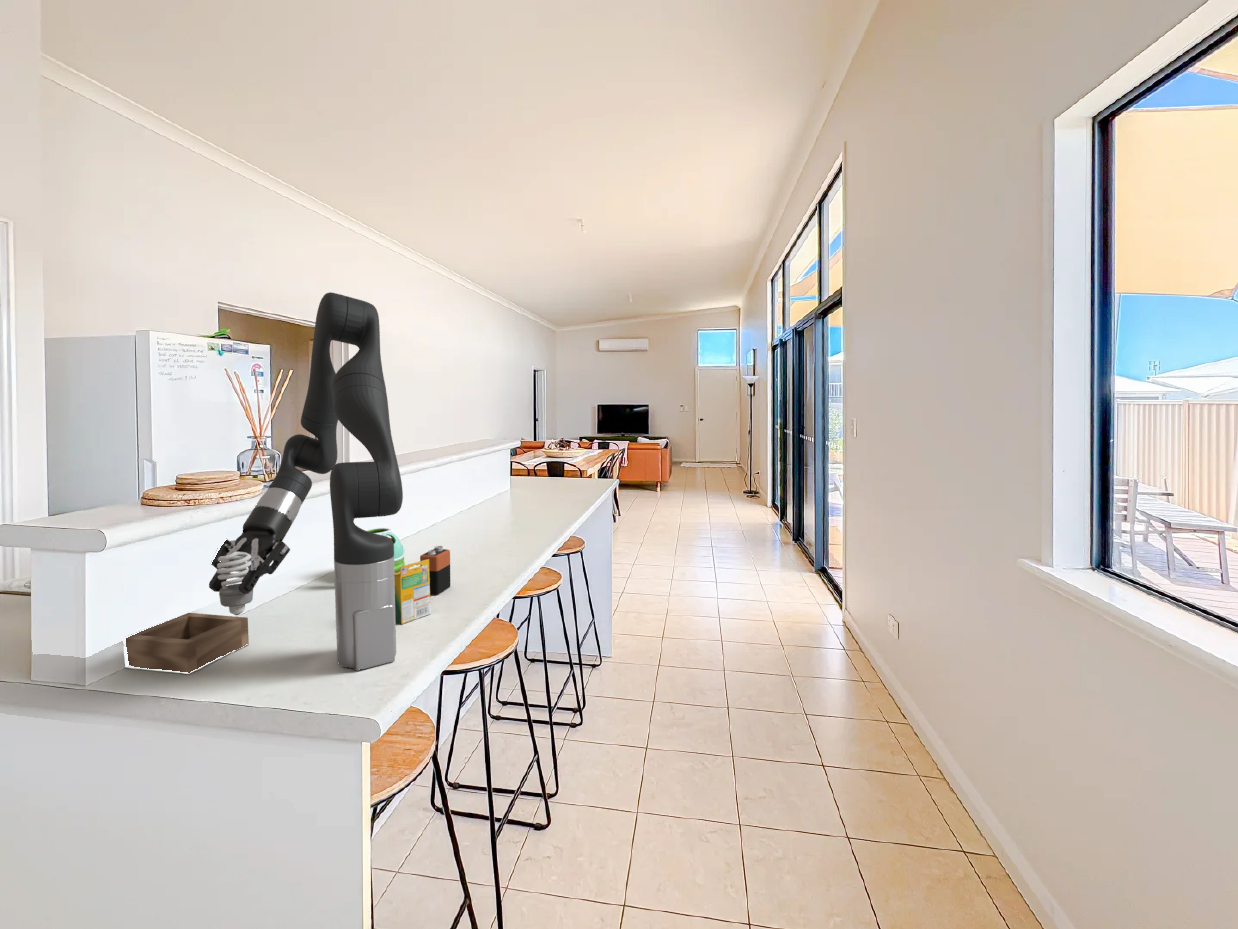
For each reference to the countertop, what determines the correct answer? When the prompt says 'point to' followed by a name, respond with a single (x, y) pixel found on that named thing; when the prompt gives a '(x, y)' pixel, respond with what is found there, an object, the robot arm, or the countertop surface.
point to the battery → (438, 569)
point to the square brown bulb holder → (187, 642)
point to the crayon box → (412, 592)
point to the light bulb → (234, 581)
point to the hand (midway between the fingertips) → (228, 590)
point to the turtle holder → (398, 546)
